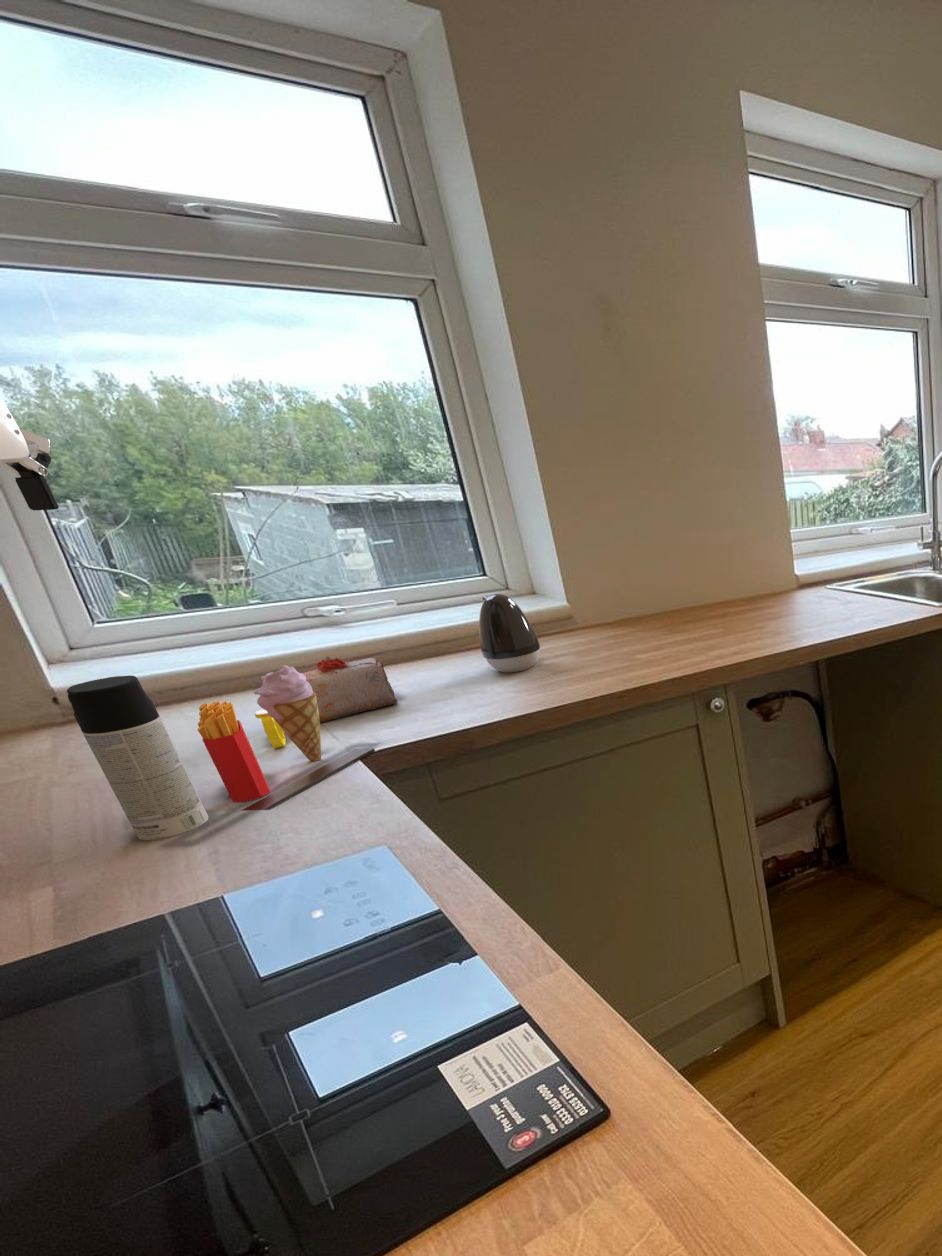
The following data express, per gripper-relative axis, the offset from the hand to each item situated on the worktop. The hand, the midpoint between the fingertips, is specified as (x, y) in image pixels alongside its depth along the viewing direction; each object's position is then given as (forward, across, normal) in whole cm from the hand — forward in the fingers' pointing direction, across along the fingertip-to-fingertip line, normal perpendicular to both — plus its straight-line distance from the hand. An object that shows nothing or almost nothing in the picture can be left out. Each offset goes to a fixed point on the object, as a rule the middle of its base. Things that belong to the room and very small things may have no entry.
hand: (1, 514), depth 99 cm
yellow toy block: (+38, -17, +5) cm, 42 cm away
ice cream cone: (+38, -10, +16) cm, 43 cm away
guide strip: (+38, +2, +22) cm, 44 cm away
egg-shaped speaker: (+38, -55, +22) cm, 71 cm away
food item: (+38, -32, +5) cm, 50 cm away
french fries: (+38, +1, +16) cm, 42 cm away
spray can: (+38, +12, +16) cm, 43 cm away
